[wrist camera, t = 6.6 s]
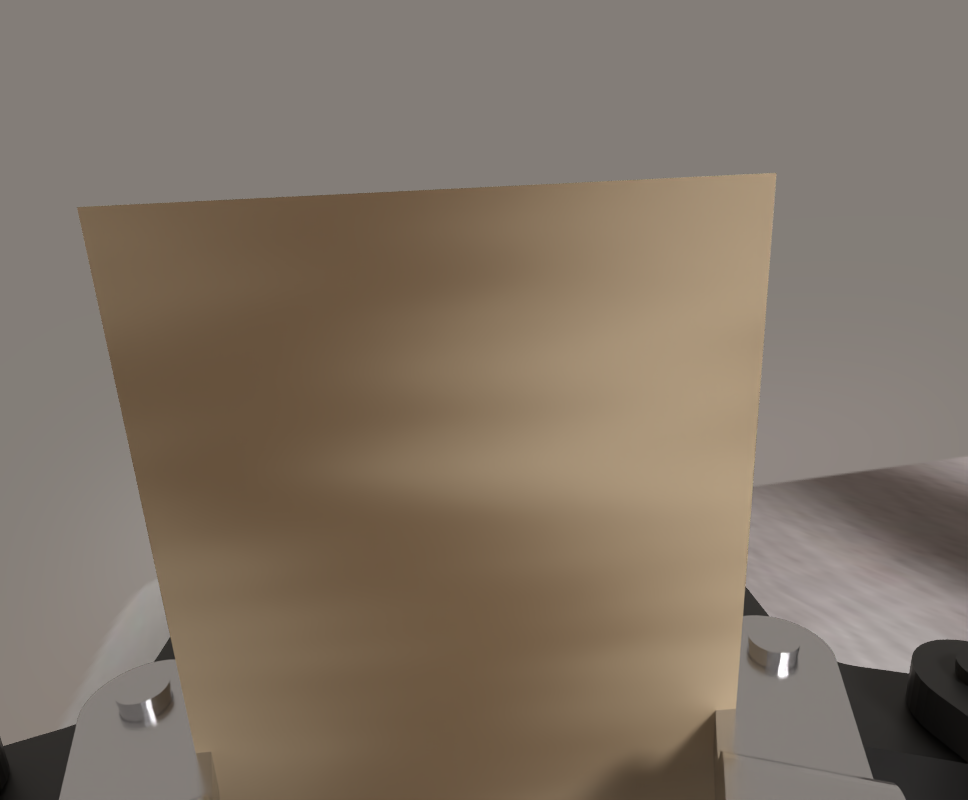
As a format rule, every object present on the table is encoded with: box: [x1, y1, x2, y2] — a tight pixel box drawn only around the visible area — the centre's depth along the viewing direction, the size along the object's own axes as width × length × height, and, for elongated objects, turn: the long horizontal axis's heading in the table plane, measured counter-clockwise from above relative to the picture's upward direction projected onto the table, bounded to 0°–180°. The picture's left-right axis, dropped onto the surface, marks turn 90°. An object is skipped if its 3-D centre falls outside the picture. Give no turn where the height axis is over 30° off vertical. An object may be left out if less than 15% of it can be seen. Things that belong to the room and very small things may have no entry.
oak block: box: [78, 173, 776, 800], centre depth 9 cm, size 5×5×14 cm
